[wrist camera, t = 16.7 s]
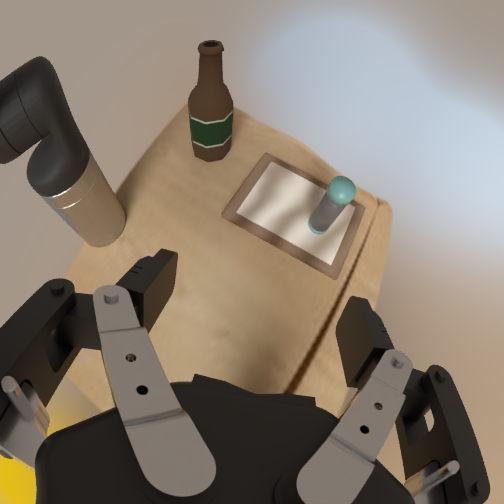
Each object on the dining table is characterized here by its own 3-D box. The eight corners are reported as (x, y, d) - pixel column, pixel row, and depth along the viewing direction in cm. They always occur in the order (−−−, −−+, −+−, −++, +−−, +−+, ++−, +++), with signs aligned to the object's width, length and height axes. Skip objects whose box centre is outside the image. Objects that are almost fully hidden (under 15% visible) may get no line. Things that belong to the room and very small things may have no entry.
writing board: (221, 216, 47) (221, 213, 46) (265, 156, 53) (265, 152, 52) (335, 280, 45) (338, 278, 44) (363, 210, 51) (366, 207, 50)
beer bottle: (187, 161, 51) (175, 54, 28) (196, 133, 54) (191, 32, 31) (227, 165, 51) (234, 57, 29) (233, 137, 54) (242, 35, 32)
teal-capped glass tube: (304, 228, 47) (327, 190, 36) (312, 211, 48) (336, 171, 37) (323, 238, 46) (352, 204, 35) (331, 221, 48) (359, 184, 37)
